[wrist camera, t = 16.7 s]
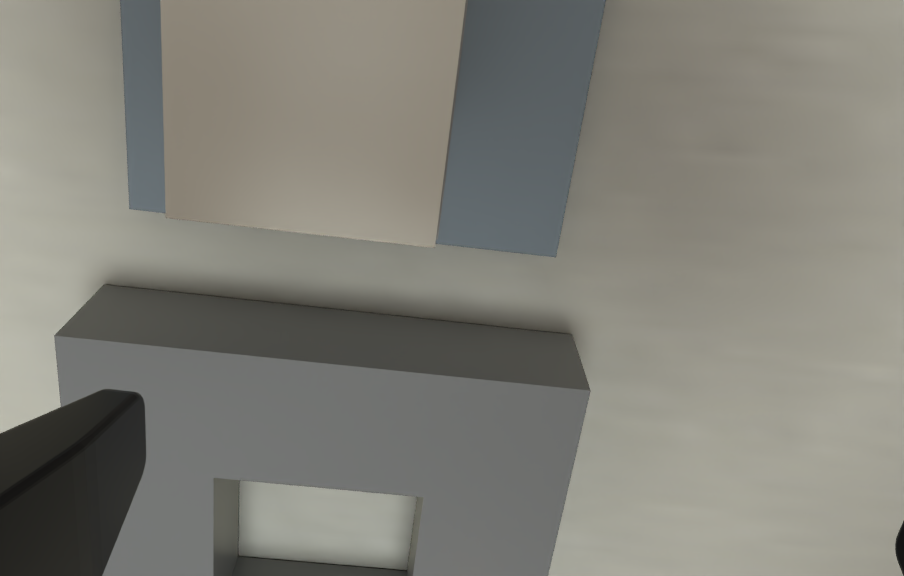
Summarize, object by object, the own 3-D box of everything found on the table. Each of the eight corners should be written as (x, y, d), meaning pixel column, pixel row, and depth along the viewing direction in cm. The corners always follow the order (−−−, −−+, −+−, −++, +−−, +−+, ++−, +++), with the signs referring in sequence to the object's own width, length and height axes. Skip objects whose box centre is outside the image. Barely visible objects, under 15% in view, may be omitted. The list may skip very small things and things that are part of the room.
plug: (460, -49, 17) (475, -40, 10) (438, 131, 19) (437, 251, 12) (275, -75, 17) (154, -84, 10) (270, 111, 19) (161, 221, 12)
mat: (634, -177, 17) (640, -181, 16) (552, 249, 21) (555, 257, 20) (119, -254, 16) (108, -261, 16) (137, 202, 20) (129, 209, 20)
